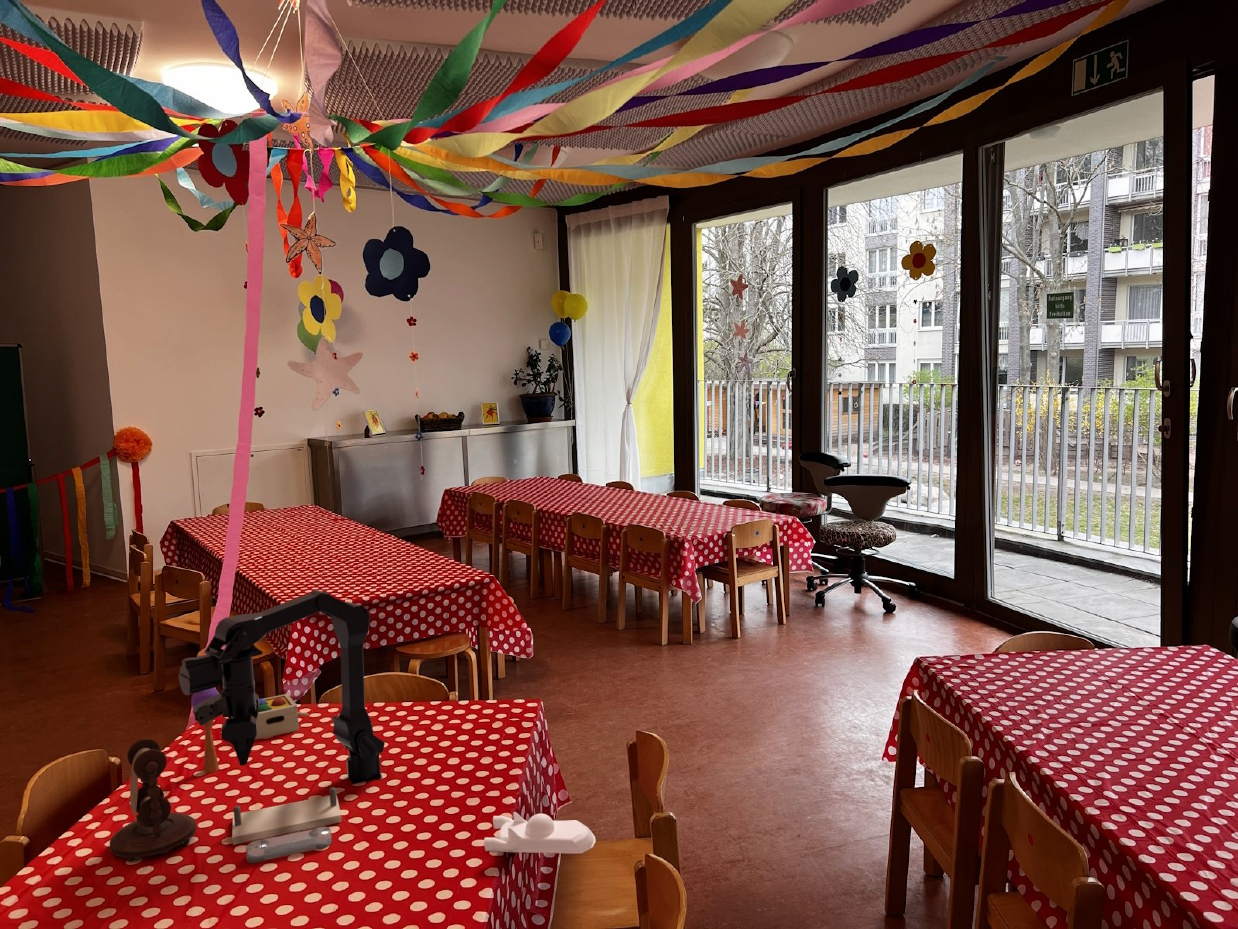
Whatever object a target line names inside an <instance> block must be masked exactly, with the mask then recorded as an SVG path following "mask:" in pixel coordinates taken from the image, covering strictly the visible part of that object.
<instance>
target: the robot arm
mask: <svg viewBox="0 0 1238 929" xmlns="http://www.w3.org/2000/svg"><path fill="white" fill-rule="evenodd" d="M318 613H321V614H323V615H325V616H326V617H328V618H330V619H331V623H332V629H333V631H334V634H335V636H336V638H337V641H338V642H339V647H340V648H339V649H340V651H339V652H340V673H341V674H340V675H341V676H340V677H341V678H340V679H341V702H342V703H341V704H342V706H341V710H340V712H339V714H338V715H334V716H332V723H333V730H332V734H333V735H335V739H336V741H338V742H339V743H340V744H342V745H343V747H344V749H346V750H348V757H346V771H347V779H348V780H349V781H350V783H351V784H352V785H356V784H362V783H367V782H370V781H376V780H382V778H383V776H382V773H381V760H380V758H381V757H380V754H382V753H383V752H384V749H385V748H384V747H385V744H386V743H385V742H384V741H383V740H382V739H380V738H378V737H377V736H376V735H375V734H374V729H373V724H372V721H371V720H372V719H371V718H370V715H369V712H368V711H367V709H366V704H365V702H366V701H365V700H366V698H365V676H364V675H365V672H364V670H365V669H364V668H365V667H364V641H365V640H366V638H367V636H368V634H369V629H370V623H371V622H370V620H371V615H370V611H369V610H368V608H366V607H365V606H363V605H359V604H356V603H353V602H349V601H343V600H340V599H338V598H337V597H334V596H332V595H331V594H329V593H328V592H325V591H322V590H318V589H317V590H316V589H315V590H313V591H311V592H309V593H308V594H304V595H301V596H299V597H296V598H294V599H291V600H289V601H286V602H283V603H280V604H278V605H276V606H273V607H270V608H268V609H265V610H262V611H259V612H255V613H254V612H253V613H244V614H238V615H232V616H227V617H224V618H223V619H221V620H220V621H219V622H218V623H217V626H216V627H215V631H214V635H213V636H212V638H211V640H210V642H209V644H208V645H207V646H206V649H205V650H204V654H203V655H198V656H196V657H186V658H183V659H182V660H181V664H182V665H180V668H179V674H178V682H179V687H180V689H181V692H182V693H183V694H184V696H188V695H193V694H194V693H197V692H201V691H204V690H208V689H212V688H215V689H216V688H218V686H219V685H221V684H222V687H221V691H220V693H219V694H218V695H215V696H213V697H210V698H208V699H206V700H204V701H202V702H200V703H198V704H196V705H195V706H194V708H193V707H192V713H193V716H194V721H195V722H198V725H199V726H200V727H201V726H203V725H204V724H206V723H207V722H208V721H210V720H212V719H214V718H215V719H216V718H218V717H220V716H221V715H222V716H221V717H222V719H226V720H224V722H223V723H222V725H221V730H220V731H221V732H220V733H221V740H223V741H224V742H226V743H227V742H228V743H230V744H231V745H232V746H233V749H234V751H235V755H236V757H237V760H238V763H239V765H240V767H241V766H246V765H247V763H248V760H249V757H250V754H251V753H252V752H251V751H252V750H253V746H254V743H255V741H256V740H255V738H256V735H257V716H258V712H259V699H260V698H259V697H260V696H259V694H257V693H256V690H255V687H256V684H255V683H256V682H255V681H256V680H255V677H254V667H253V665H254V664H253V657H257V656H262V655H263V654H264V652H263V650H262V649H259V648H258V647H257V646H256V645H255V644H257V643H258V642H260V641H261V640H262V639H263V638H264V637H265V636H266V635H268V633H271V632H273V631H275V630H278V629H280V628H283V627H286V626H288V625H291V624H293V623H295V622H298V621H300V620H302V619H306V618H309V617H310V616H313V615H316V614H318ZM224 646H225V647H224ZM223 647H224V649H223ZM215 719H214V720H215Z"/></svg>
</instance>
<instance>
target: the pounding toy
mask: <svg viewBox="0 0 1238 929" xmlns="http://www.w3.org/2000/svg"><path fill="white" fill-rule="evenodd" d="M299 716H304V717H308V716H310V714H309V713H305V712H300V711H298V705H297V703H296V702H295V701H294V700H293V698H292V697H291V696H290V695H289V694H288V693H286V694H280V695H275V696H271V697H265V698H259V712H258V716H257V735H256V738H255V741H256V740H260V739H265V738H269V737H270V738H271V737H274V736H279V735H283V734H287V733H293V732H297V731H299V730H300V727H299Z"/></svg>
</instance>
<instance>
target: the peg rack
mask: <svg viewBox="0 0 1238 929" xmlns="http://www.w3.org/2000/svg"><path fill="white" fill-rule="evenodd" d="M337 795H338V794H337V790H336V787H330V788H329V795H324V796H319V797H314V798H310V799H304V800H300V801H295V802H289V803H284V804H280V805H275V806H270V807H264V808H259V809H254V810H250V811H249V810H248V811H244V812H241V806H239V805H237V806H234V807H233V814H232V836H231V838H232V845H238V844H243V843H248V842H249V843H250V842H254V841H257V840H264V839H269V838H274V837H278V836H283V835H288V834H293V833H297V832H302V831H307V830H312V829H315V828H319V827H326V826H328V825H329V826H330V825H333V824H338V823H342V814H341V809H340V805H339V799H338V796H337Z"/></svg>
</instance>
